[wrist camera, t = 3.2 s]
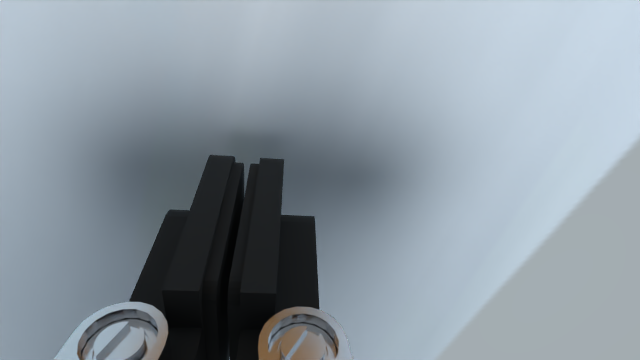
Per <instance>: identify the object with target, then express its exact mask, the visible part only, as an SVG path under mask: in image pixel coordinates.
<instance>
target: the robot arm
mask: <svg viewBox="0 0 640 360" xmlns="http://www.w3.org/2000/svg"><path fill="white" fill-rule="evenodd" d="M283 168H284V159H269V158H260V164H251V165H250V170H249V175H248V181H247V186H246V192H245V197H244V164H243V163H235V157H234V156H218V155H210V156H209V158H208V161H207V163H206V166H205V169H204V172H203V175H202V178H201V180H200V183H199V186H198V189H197V192H196V194H195V197H194V200H193V203H192V206H191V209H190V211H189V210H169V211H168V213H167V214H166V216H165V218H164V221H163V223H162V225H161V228H160V230H159V233H158V235H157V237H156V240H155V242H154V244H153V247H152V249H151V251H150V254H149V256H148V258H147V261H146V263H145V265H144V268H143V270H142V272H141V275H140V277H139V279H138V282H137V284H136V286H135V289H134V291H133V294H132V296H131V298H130V301H129V302H123V303H118V304H113V305H110V306H108V307H105V308H103V309H101V310H98V311H96V312H95V313H94V314H92V315H91V316H89V317H88V318H86V319H85V320H84V321H83V322H82V323H81V324H80V325H79V326H78V327H77V328H76V329H75V330H74V331H73V333H72V334H71V336H70V337H69V338H68V340H67V341H66V343H65V344H64V345H63V347H62V348H61V350H60V351H59V352H58V354H57V355H56V357H55V358H54V359H53V360H229V356H230V360H353V356H352V353H351V349H350V345H349V342H348V338H347V336H346V334H345V332H344V330H343V328H342V326H341V325H340V324H339V323H338V322H337V321H336V319H335V318H334V317H332V316H330V315H329V314H327V313H326V312H324V311H322V310H319V294H318V274H317V254H316V234H315V218H314V216H294V215H281V205H282V186H283Z"/></svg>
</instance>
